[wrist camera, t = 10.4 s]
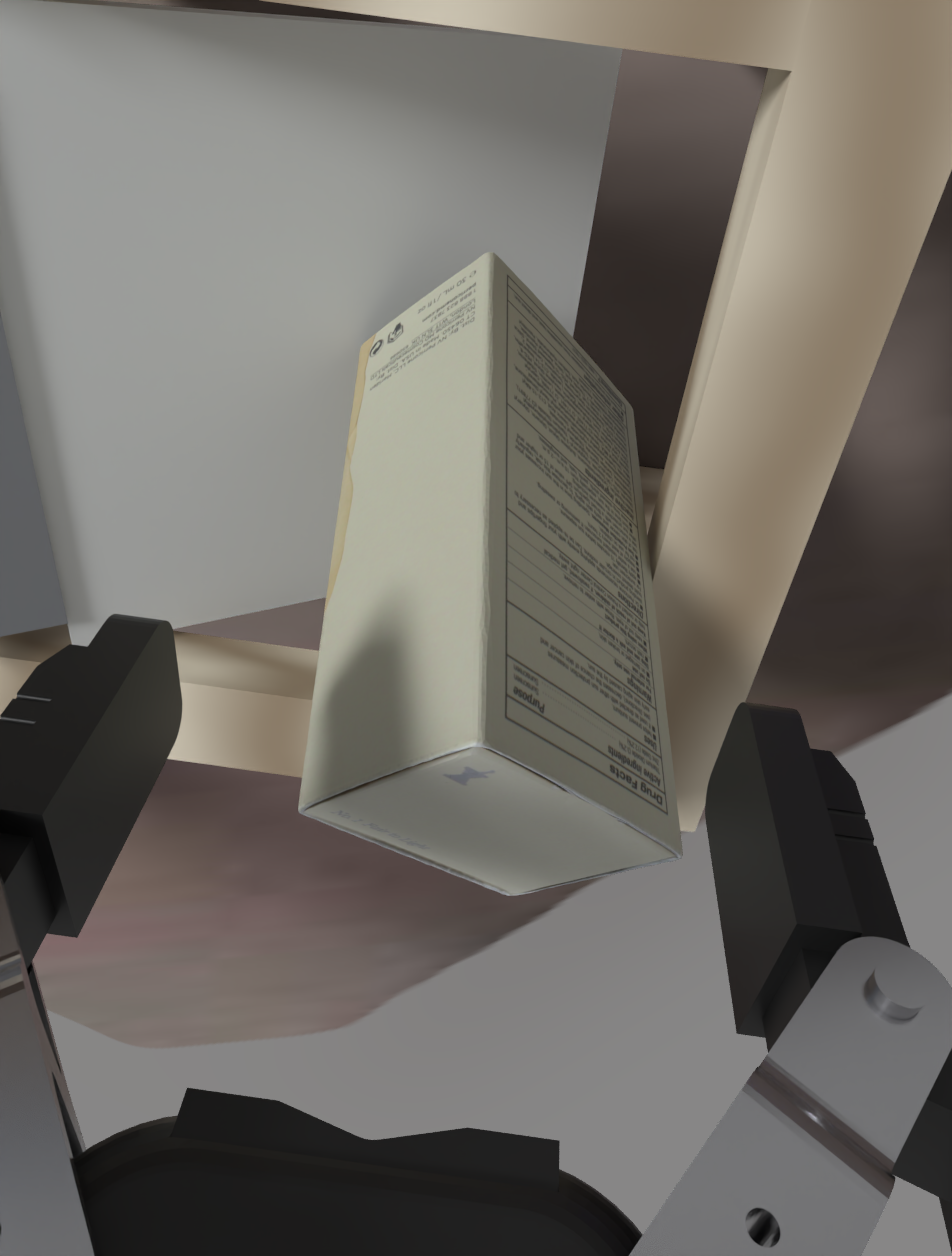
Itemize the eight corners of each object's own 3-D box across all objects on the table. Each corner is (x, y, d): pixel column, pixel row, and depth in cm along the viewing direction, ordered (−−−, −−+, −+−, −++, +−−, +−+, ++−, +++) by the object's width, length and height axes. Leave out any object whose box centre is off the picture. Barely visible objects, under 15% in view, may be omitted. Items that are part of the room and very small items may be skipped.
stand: (150, 465, 38) (-88, 757, 24) (63, -207, 25) (-537, -376, 12) (655, 534, 38) (699, 867, 24) (825, -106, 25) (1117, -160, 12)
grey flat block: (-153, 584, 24) (-154, 701, 21) (-407, -62, 16) (-477, -37, 13) (468, 484, 33) (538, 557, 29) (520, 17, 24) (628, 46, 21)
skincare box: (356, 339, 22) (271, 808, 15) (499, 236, 20) (473, 739, 13) (514, 482, 26) (503, 905, 19) (650, 410, 24) (691, 867, 17)
